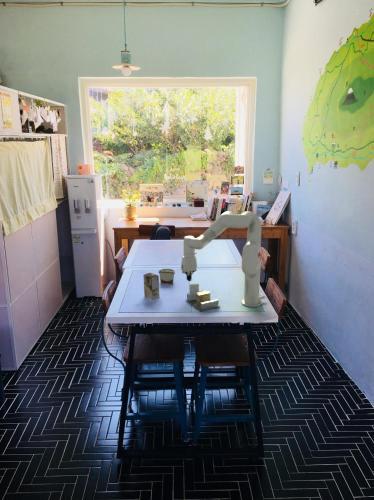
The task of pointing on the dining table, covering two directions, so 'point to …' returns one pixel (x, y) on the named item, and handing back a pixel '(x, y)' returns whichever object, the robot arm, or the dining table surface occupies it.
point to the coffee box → (151, 286)
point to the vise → (204, 305)
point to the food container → (166, 276)
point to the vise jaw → (193, 291)
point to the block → (202, 297)
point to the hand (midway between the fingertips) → (189, 280)
